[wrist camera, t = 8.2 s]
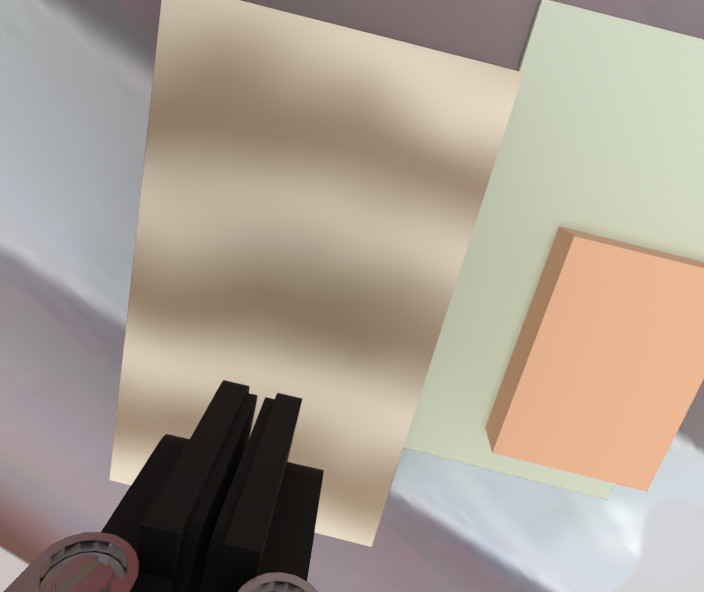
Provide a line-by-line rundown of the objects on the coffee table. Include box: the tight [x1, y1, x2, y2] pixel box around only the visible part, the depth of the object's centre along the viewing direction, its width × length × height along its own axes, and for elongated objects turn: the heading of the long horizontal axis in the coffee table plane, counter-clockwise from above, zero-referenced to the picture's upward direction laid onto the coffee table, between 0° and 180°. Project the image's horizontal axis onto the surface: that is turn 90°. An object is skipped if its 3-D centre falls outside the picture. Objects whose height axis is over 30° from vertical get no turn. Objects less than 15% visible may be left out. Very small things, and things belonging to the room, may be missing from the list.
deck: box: [110, 0, 524, 547], centre depth 22 cm, size 20×12×4 cm, turn 167°
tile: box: [485, 226, 704, 491], centre depth 23 cm, size 10×7×2 cm
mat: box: [403, 0, 704, 500], centre depth 23 cm, size 20×10×1 cm, turn 167°
